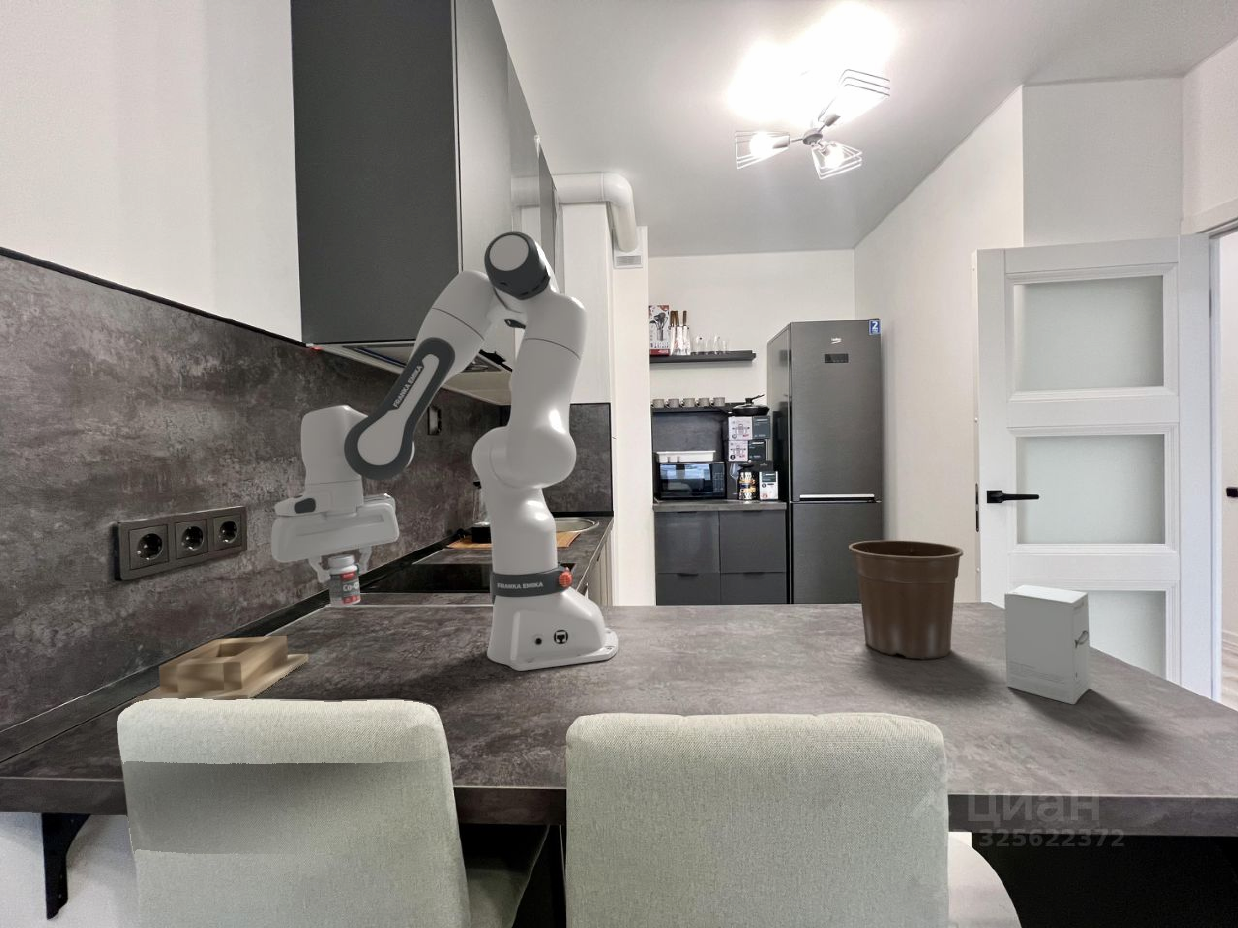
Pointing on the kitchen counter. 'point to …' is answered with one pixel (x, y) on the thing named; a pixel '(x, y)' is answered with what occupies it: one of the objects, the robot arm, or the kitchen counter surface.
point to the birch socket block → (226, 669)
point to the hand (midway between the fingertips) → (343, 577)
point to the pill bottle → (343, 581)
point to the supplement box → (1047, 642)
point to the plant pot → (907, 595)
